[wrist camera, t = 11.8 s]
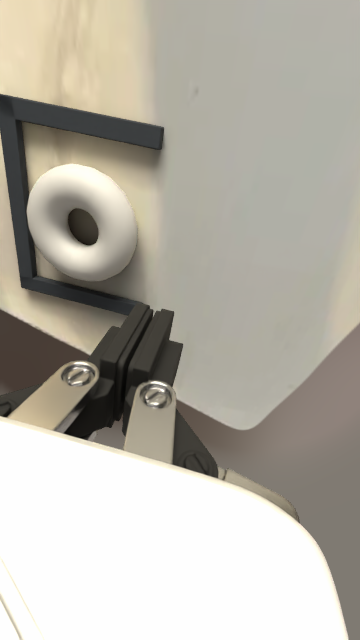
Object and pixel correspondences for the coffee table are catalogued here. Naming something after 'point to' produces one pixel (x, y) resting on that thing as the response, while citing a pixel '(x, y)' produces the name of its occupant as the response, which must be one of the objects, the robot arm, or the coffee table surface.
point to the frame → (6, 119)
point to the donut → (101, 203)
